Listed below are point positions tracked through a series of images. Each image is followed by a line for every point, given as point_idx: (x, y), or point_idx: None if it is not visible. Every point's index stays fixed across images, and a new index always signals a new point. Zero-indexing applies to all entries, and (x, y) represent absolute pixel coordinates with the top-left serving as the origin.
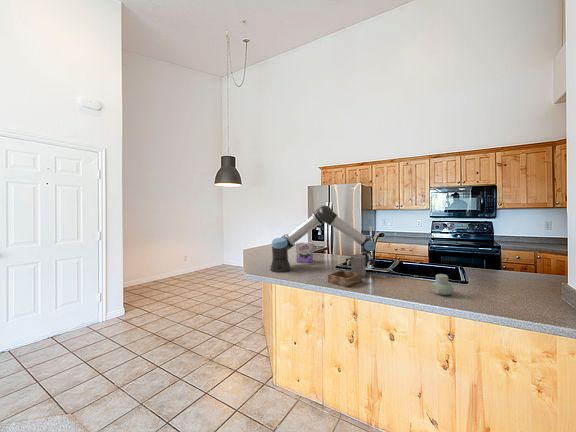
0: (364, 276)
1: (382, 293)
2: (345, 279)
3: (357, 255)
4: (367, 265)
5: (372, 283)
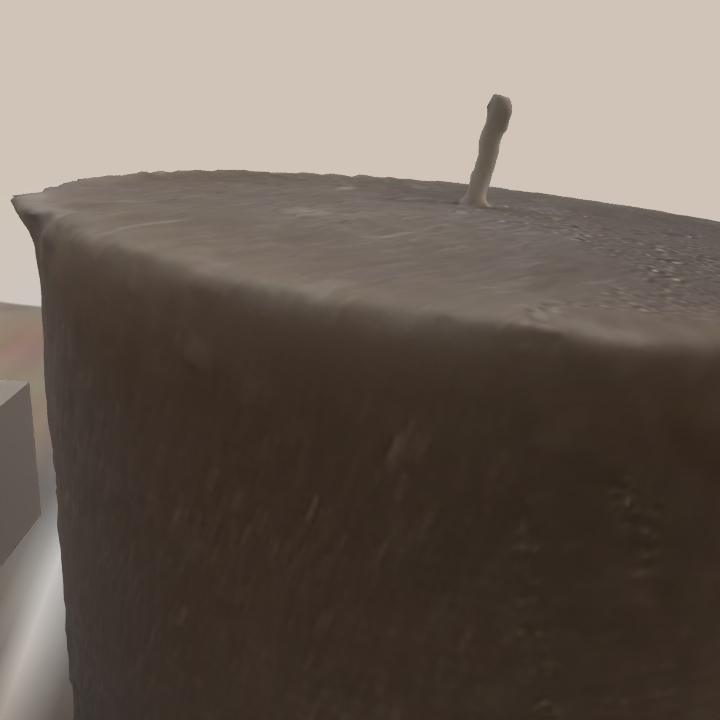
0: None
1: (32, 329)
2: None
3: (529, 216)
4: (34, 463)
5: (53, 479)
